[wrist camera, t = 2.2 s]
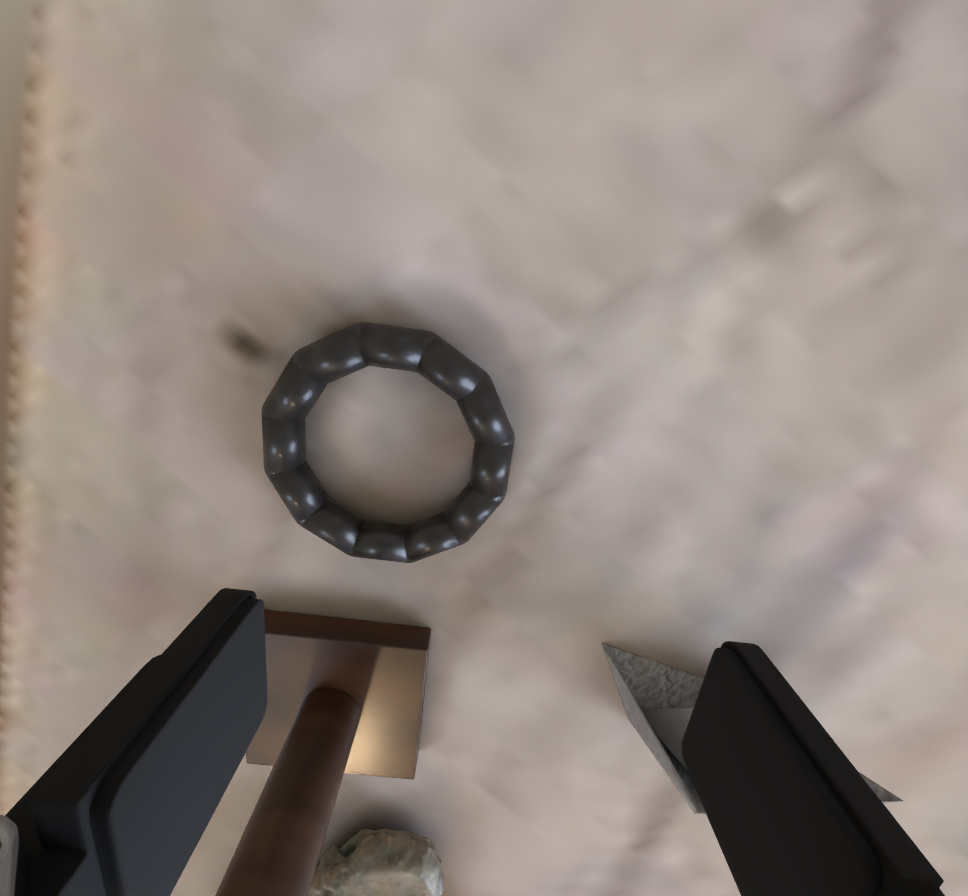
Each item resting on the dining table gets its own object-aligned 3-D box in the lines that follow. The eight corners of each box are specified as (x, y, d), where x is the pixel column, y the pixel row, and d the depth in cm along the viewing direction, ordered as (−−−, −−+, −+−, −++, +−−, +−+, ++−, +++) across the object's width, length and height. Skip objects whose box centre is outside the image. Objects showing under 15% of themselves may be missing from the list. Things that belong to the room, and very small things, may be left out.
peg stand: (251, 608, 22) (-12, 963, 11) (431, 627, 23) (369, 994, 11) (259, 737, 25) (61, 1126, 14) (418, 753, 26) (358, 1147, 14)
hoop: (269, 307, 18) (248, 309, 16) (527, 341, 18) (531, 346, 16) (277, 534, 21) (261, 553, 19) (493, 559, 21) (494, 580, 20)
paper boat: (566, 761, 24) (577, 670, 19) (609, 662, 28) (627, 565, 23) (836, 937, 18) (961, 877, 13) (839, 780, 23) (932, 687, 17)
